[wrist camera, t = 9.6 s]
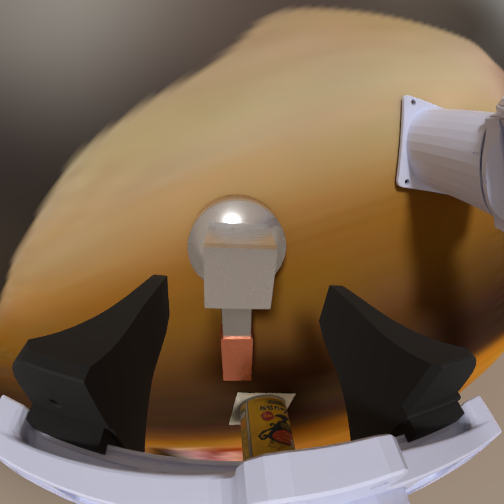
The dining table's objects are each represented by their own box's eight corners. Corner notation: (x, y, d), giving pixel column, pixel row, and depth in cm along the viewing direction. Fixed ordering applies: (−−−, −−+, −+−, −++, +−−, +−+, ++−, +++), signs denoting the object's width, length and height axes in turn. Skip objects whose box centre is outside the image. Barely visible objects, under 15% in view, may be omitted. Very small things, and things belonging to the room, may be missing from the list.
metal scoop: (189, 195, 19) (179, 210, 15) (284, 195, 20) (296, 211, 16) (203, 366, 27) (201, 397, 23) (269, 365, 27) (274, 395, 24)
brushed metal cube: (262, 275, 20) (270, 309, 16) (208, 274, 20) (204, 307, 16) (267, 224, 19) (277, 249, 15) (209, 222, 18) (203, 247, 14)
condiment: (295, 392, 30) (315, 475, 19) (278, 423, 34) (290, 494, 23) (237, 390, 29) (243, 481, 18) (228, 422, 32) (232, 496, 22)
